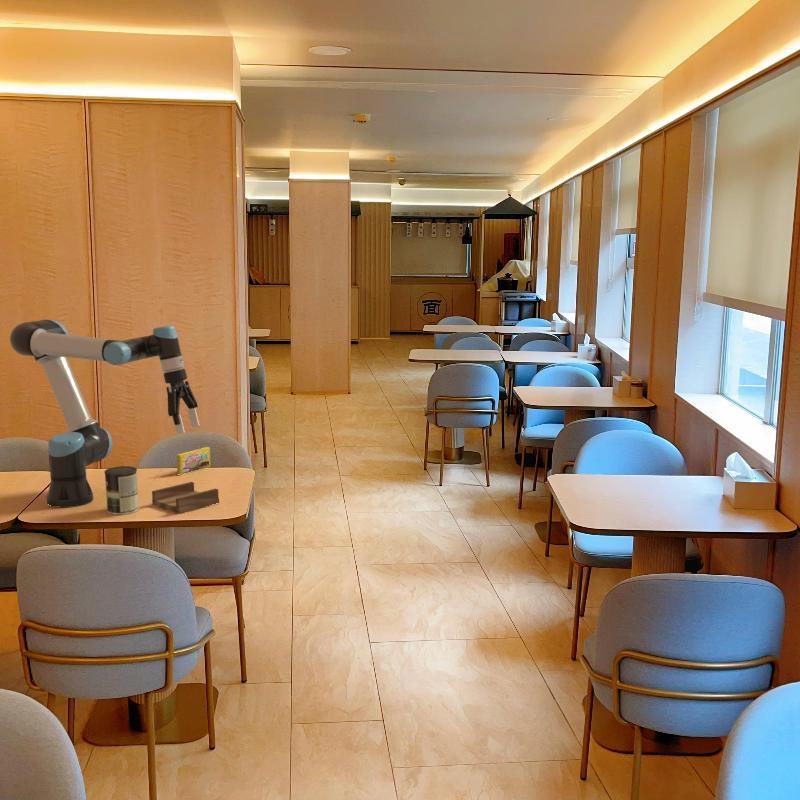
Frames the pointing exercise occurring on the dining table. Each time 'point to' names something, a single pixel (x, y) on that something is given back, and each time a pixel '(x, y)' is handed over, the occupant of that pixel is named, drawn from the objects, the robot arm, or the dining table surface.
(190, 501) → the stand
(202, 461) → the candy box
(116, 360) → the robot arm
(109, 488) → the coffee can
